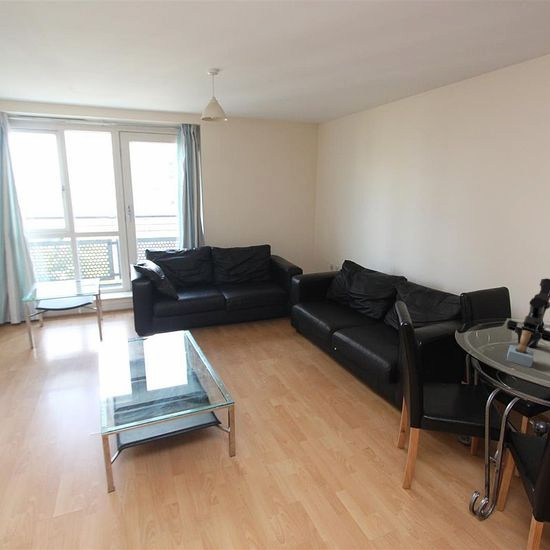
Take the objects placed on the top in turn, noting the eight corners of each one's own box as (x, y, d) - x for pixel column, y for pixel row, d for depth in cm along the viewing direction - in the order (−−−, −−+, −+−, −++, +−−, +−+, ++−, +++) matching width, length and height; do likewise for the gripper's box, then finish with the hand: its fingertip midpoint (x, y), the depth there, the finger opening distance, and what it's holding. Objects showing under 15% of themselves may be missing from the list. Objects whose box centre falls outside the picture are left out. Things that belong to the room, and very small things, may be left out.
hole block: (507, 353, 192) (510, 344, 191) (530, 360, 187) (533, 351, 185) (506, 360, 184) (509, 351, 182) (530, 367, 179) (533, 358, 177)
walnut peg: (520, 354, 187) (527, 330, 183) (526, 357, 183) (533, 333, 180) (514, 354, 186) (521, 330, 183) (519, 357, 183) (527, 333, 179)
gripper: (512, 304, 188) (501, 329, 183) (557, 316, 175) (546, 343, 170) (512, 316, 195) (501, 340, 190) (555, 328, 183) (545, 354, 178)
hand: (522, 344), depth 182 cm, fingers closed on walnut peg, 4 cm apart
